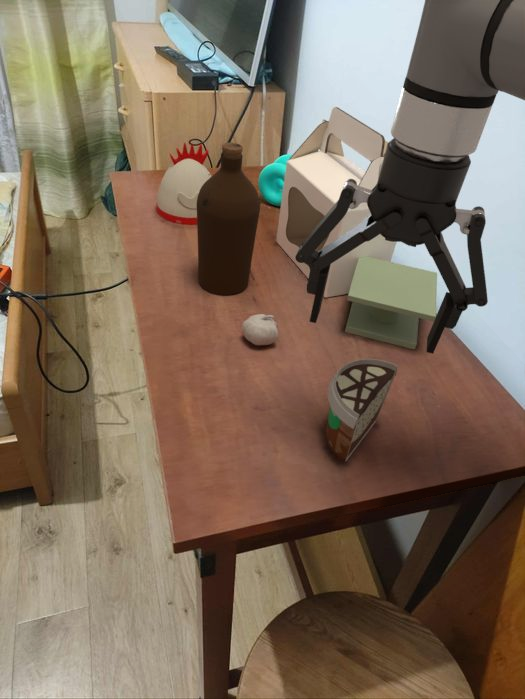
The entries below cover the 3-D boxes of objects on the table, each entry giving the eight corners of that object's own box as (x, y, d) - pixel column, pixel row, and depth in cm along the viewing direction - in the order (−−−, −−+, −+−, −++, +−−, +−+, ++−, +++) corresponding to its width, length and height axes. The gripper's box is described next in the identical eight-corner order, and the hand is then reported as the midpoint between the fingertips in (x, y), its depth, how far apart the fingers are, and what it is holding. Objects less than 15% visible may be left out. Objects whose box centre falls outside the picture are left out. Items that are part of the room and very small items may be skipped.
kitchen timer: (223, 224, 112) (227, 156, 102) (159, 225, 109) (157, 155, 99) (213, 196, 122) (215, 132, 113) (154, 196, 119) (152, 130, 109)
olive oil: (241, 303, 90) (254, 164, 74) (185, 288, 92) (187, 149, 76) (258, 274, 98) (274, 142, 82) (207, 261, 100) (213, 129, 84)
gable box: (383, 289, 99) (429, 142, 81) (325, 299, 94) (359, 146, 76) (328, 234, 114) (356, 100, 96) (274, 241, 109) (293, 101, 91)
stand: (423, 309, 95) (437, 272, 90) (420, 355, 85) (435, 316, 80) (349, 291, 97) (359, 254, 92) (338, 333, 87) (348, 295, 82)
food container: (343, 394, 76) (358, 343, 69) (380, 415, 73) (400, 363, 67) (299, 445, 68) (312, 392, 61) (339, 469, 65) (357, 417, 59)
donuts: (307, 198, 127) (314, 158, 121) (292, 213, 120) (298, 171, 114) (271, 188, 130) (276, 148, 123) (254, 201, 123) (258, 160, 116)
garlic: (280, 334, 85) (284, 309, 81) (273, 355, 81) (277, 329, 77) (246, 326, 86) (248, 301, 82) (237, 346, 81) (239, 320, 78)
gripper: (568, 161, 46) (478, 338, 60) (304, 108, 50) (276, 287, 64) (585, 192, 41) (481, 380, 55) (286, 130, 44) (260, 321, 58)
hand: (371, 330), depth 59 cm, fingers open, 13 cm apart
